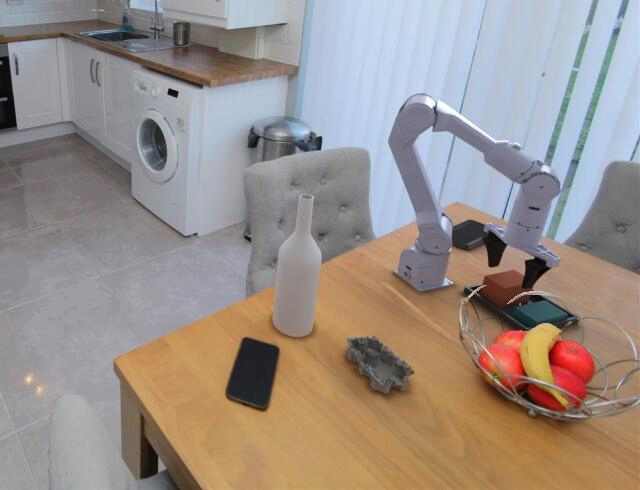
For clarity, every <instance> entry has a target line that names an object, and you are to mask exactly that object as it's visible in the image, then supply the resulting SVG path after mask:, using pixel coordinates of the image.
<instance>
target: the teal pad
mask: <svg viewBox="0 0 640 490" xmlns="http://www.w3.org/2000/svg"><path fill="white" fill-rule="evenodd" d="M567 316H568V314H567V313H566V312H564V311H562V310H561V309H559V308H557V307H556V306H554V305H553V304H551V303H549V302H548V301H546V300H544V301H540V302H535V303H531V304H527V305H522V306H518V307H515V309H514V312H513V315H512V317H513V318H514V319H516V320H517V321H519V322H520V323H522V324H523V325H524V326H526V327H527V328H529V327H533V326H537V325H539V324H542V323H550V322H554V321H558V320H562V319H566V318H567Z"/></svg>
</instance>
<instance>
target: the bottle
mask: <svg viewBox="0 0 640 490" xmlns="http://www.w3.org/2000/svg"><path fill="white" fill-rule="evenodd" d="M314 200H315V197H314V195H313V194H310V193H301V194H299V196H298V202H297V203H298V204H297V211H296V212H297V214H296V221H295V227H294V231H293V233H291V234H290V236H288V237H287V238H286V239H285V240H284V242H283V243H282V244H281V245H280V246H279V250H278V255H277V265H276V266H277V267H276V275H275V276H276V277H275V286H274V287H275V288H274V297H273V298H274V300H273V309H272V324H273V326H274V327H275V328H276V330H277V331H279V333H281V334H283V335H285V336H288V337H292V338H303V337H307V336H308V335H310V334H311V333H312V331H313V329H314V322H315V315H316V307H317V299H318V294H319V293H318V292H319V284H320V276H321V269H322V260H323V258H322V257H323V256H322V251H321V249H320V248H319V246H318V244H317V243H316V241H315V239H314V237H313V236H312V234H311V229H312V217H313V211H314Z"/></svg>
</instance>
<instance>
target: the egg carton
mask: <svg viewBox="0 0 640 490" xmlns="http://www.w3.org/2000/svg"><path fill="white" fill-rule="evenodd" d="M346 342H347V345H348V349H347V355H346V358H347V359H348V360H349V362H354V363H357V364H358V370H357V371H358V373H359V374H360V375H361V376H365V377H368V378H369V379H370V384H369V386H370V388H372V390H375V391H378V392H380V393H382V394H384V395H385V394H389V393H390V391H391V388H395V389H396V388H397V389H398V390H399V391H401V392H403V391H406V390H407V387H408V381H409V378H410V377H411V376H414V375H415V371H414V369H412V367H411V365H409V363H408V362H406V361H405V360H404V359H403V360H402V359H401V358H400V356H398V355H397V354H396V353H394V352H393V350H392V349H391V348H389V347H388V346H387V345H385V344H384V343H383V342H381V341H380V340H379V338H378V337H377V336H376V335H373V336H372V337H369V336H368V335H366V336H364V337H363V336H360V337H357V336H355V337H354V338H350V337H347V338H346Z"/></svg>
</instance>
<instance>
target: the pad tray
mask: <svg viewBox="0 0 640 490" xmlns="http://www.w3.org/2000/svg"><path fill="white" fill-rule="evenodd" d="M482 284H483V282H481V283H476V284H472V285H467V286H464V288H463V293H464V294H465V295H466V296H468V295H470V294H471V293H472V292H473V291H474V290H475V289H477V288H478V287H480V286H482ZM480 291H481V289H480V290H479V291H477V292H476V293H475V294H474V295H473V296H472V297H470V299H472V300H473V301H474V302H476V303H478V304H479V305H480V306H482V307H483V308H484V309H486V310H488V311H489V312H490V313H492V314H493V315H494V316H496V317H497V318H498V319H500V320H502V319H503V320H502V321H503V322H504V323H506V324H507V325H509V326H510V327H511V328H512V329H514V330H515V331H517V330H522V331H529V330H531V329H532V328H534V327H536V326H533V327H529V328H527V327H526V326H524V325H523V324H522V323H520V322H519V321H517V320H516V319H514V318H513V317H512V315H513V312H514V309H515V307H518V306H520V305H519V303H517V304H513V305H508V306H504V307H500V308H499V307H497V306H496V305H494V304H493V303H491V302H490V301H488V300H487V299H486V298H484V297H483V296H481V295H480ZM532 291H536V290H535V289H534V288H533V289H532ZM542 295H543V294H542ZM542 295H530V298H529V301H526V302H521V306H522V305H527V304H531V303H535V302H540V301H544V300H546V301H548V302H549V303H551V304H553V305H554V306H556V307H557V308H559V309H561V310H562V311H564V312H566V313H567V314H568V316H567V318H566V319H562V320H558V321H554V322H550V324H552V325H554V326H556V327H557V328H559V329H563V328H565V327H564V326H565V325H566V324H567V323H568V322H569V321H572V323H571V324H570V325H569V326H568V327H571V326H574V325H578V324H579V321H580V319H581V317H580V316H578V315H577V314H575V313H573V312H572V311H570V310H568V309H567V308H565V307H563V306H562V305H560V304H559V303H557V302H555V301H553V300H552V299H551V298H549V297H547V296H546V295H544V296H542ZM577 318H580V319H579V320H577Z"/></svg>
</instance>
